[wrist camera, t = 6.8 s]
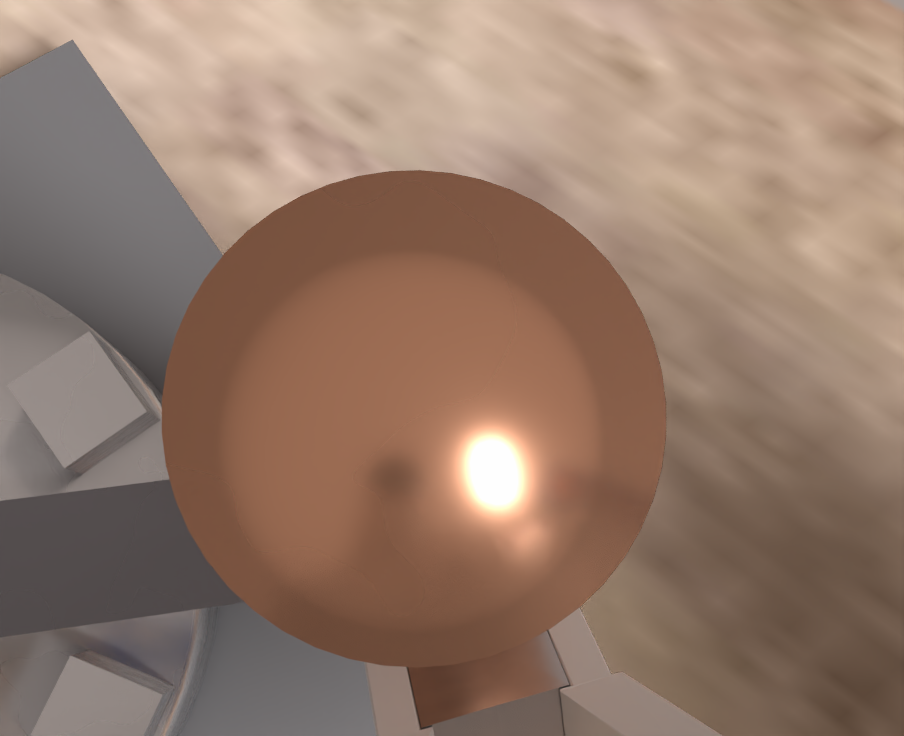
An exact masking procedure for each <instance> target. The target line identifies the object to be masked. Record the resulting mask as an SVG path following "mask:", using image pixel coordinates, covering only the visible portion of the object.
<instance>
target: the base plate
mask: <svg viewBox="0 0 904 736" xmlns="http://www.w3.org/2000/svg"><path fill="white" fill-rule="evenodd" d="M222 256H223V255H222V253H221V252H220V251H219V249H218V248H217V246H216V245H215V243H214V242H213V241H212V239H211V238H210V236H209V235H208V233H207V232H206V231H205V229H204V228H203V226H202V225H201V223H200V222H199V221H198V219H197V218H196V216H195V215H194V213H193V212H192V210H191V209H190V208H189V206H188V205H187V203H186V202H185V200H184V199H183V198H182V196H181V195H180V193H179V192H178V190H177V189H176V188H175V186H174V185H173V183H172V182H171V180H170V179H169V177H168V176H167V175H166V173H165V172H164V170H163V169H162V167H161V166H160V165H159V163H158V162H157V160H156V159H155V157H154V156H153V155H152V153H151V152H150V150H149V149H148V147H147V146H146V144H145V143H144V142H143V140H142V139H141V137H140V136H139V134H138V133H137V132H136V130H135V129H134V127H133V126H132V124H131V123H130V122H129V120H128V119H127V117H126V116H125V114H124V113H123V111H122V110H121V109H120V107H119V106H118V104H117V103H116V101H115V100H114V99H113V97H112V96H111V94H110V93H109V91H108V90H107V89H106V87H105V86H104V84H103V83H102V81H101V80H100V79H99V77H98V76H97V74H96V73H95V71H94V70H93V68H92V67H91V66H90V64H89V63H88V61H87V60H86V58H85V57H84V56H83V54H82V53H81V51H80V50H79V48H78V47H77V46H76V44H75V43H74V41H73V40H71V41H69V42H67V43H65V44H63V45H62V46H60V47H58V48H56V49H54V50H52V51H50V52H48V53H46V54H45V55H43V56H41V57H39V58H37V59H35V60H33V61H31V62H29V63H28V64H26V65H24V66H22V67H20V68H18V69H16V70H14V71H13V72H11V73H9V74H7V75H5V76H3V77H1V78H0V273H1V274H4V275H6V276H8V277H10V278H12V279H14V280H16V281H18V282H20V283H22V284H24V285H27V286H29V287H31V288H33V289H35V290H37V291H39V292H41V293H43V294H44V295H46V296H47V297H49V298H50V299H52V300H53V301H55V302H56V303H58V304H59V305H61V306H62V307H63V308H65V309H66V310H68V311H69V312H71V313H72V314H74V315H75V316H77V317H78V318H80V319H81V320H82V321H83V322H85V323H86V324H87V325H88V326H89V327H91V328H92V329H93V330H94V331H96V332H97V333H98V334H99V335H101V336H102V337H103V338H104V339H106V340H107V341H108V342H109V343H111V344H112V345H113V346H114V347H116V348H117V349H118V350H119V351H120V352H121V353H122V354H123V355H125V356H126V357H127V358H128V359H129V360H130V361H131V362H132V363H133V364H134V365H136V366H137V367H138V368H139V369H140V370H141V371H142V372H143V373H144V374H145V375H146V376H147V377H148V378H149V380H150V381H151V382H152V383H153V384H154V386H155V387H156V388H157V389H158V390H159V392H160V393H161V394H162V395H163V389H164V382H165V375H166V368H167V364H168V360H169V357H170V353H171V350H172V346H173V343H174V339H175V336H176V333H177V331H178V329H179V326H180V324H181V322H182V319H183V317H184V315H185V313H186V310H187V308H188V306H189V304H190V302H191V301H192V299H193V297H194V296H195V294H196V292H197V291H198V289H199V287H200V286H201V284H202V282H203V281H204V279H205V278H206V276H207V275H208V274H209V273H210V271H211V270H212V269H213V268H214V266H215V265H216V264H217V262H218V261H219V260H220V259H221V257H222ZM179 736H376V731H375V725H374V719H373V713H372V706H371V700H370V694H369V688H368V682H367V676H366V670H365V664H364V662H362V661H357V660H352V659H348V658H345V657H342V656H339V655H336V654H333V653H330V652H327V651H324V650H321V649H318V648H315V647H313V646H311V645H309V644H307V643H305V642H303V641H302V640H300V639H298V638H296V637H294V636H292V635H290V634H288V633H286V632H284V631H282V630H281V629H279V628H278V627H276V626H275V625H274V624H272V623H271V622H269V621H268V620H266V619H265V618H264V617H262V616H261V615H259V614H258V613H256V612H255V611H254V610H253V609H252V608H250V607H249V606H248V605H247V604H246V603H245V602H244V603H237V604H230V605H223V606H219V607H218V615H217V623H216V632H215V636H214V640H213V644H212V648H211V652H210V656H209V660H208V664H207V668H206V672H205V676H204V678H203V681H202V683H201V686H200V689H199V691H198V694H197V696H196V699H195V702H194V704H193V707H192V709H191V712H190V715H189V717H188V719H187V721H186V723H185V725H184V727H183V729H182V731H181V733H180V734H179Z"/></svg>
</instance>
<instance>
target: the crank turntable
mask: <svg viewBox="0 0 904 736" xmlns="http://www.w3.org/2000/svg"><path fill="white" fill-rule="evenodd" d="M665 440H666V399H665V392H664V384H663V377H662V371H661V367H660V363H659V360H658V356H657V352H656V348H655V344H654V341H653V339H652V336H651V334H650V331H649V329H648V326H647V324H646V321H645V319H644V317H643V314H642V312H641V310H640V308H639V307H638V305H637V303H636V301H635V300H634V298H633V296H632V294H631V292H630V291H629V289H628V287H627V286H626V284H625V283H624V281H623V280H622V279H621V277H620V276H619V275H618V273H617V272H616V271H615V269H614V268H613V267H612V265H611V264H610V263H609V261H608V260H607V259H606V258H605V257H604V256H603V255H602V254H601V253H600V252H599V251H598V250H597V249H596V247H595V246H594V245H593V244H592V243H591V242H590V241H589V240H588V239H587V238H586V237H584V236H583V235H582V234H581V233H580V232H578V231H577V230H576V229H575V228H574V227H572V226H571V225H570V224H569V223H568V222H566V221H565V220H564V219H562V218H561V217H559V216H558V215H556V214H555V213H553V212H551V211H550V210H548V209H547V208H545V207H544V206H542V205H540V204H539V203H537V202H535V201H533V200H531V199H529V198H527V197H525V196H523V195H521V194H519V193H516V192H514V191H512V190H510V189H507V188H504V187H501V186H499V185H496V184H493V183H490V182H487V181H484V180H481V179H476V178H471V177H467V176H462V175H457V174H453V173H444V172H432V171H421V170H418V171H389V172H382V173H376V174H369V175H362V176H357V177H354V178H350V179H347V180H343V181H339V182H336V183H332V184H329V185H326V186H324V187H322V188H319V189H317V190H314V191H312V192H310V193H307V194H305V195H302V196H300V197H298V198H297V199H295V200H293V201H291V202H290V203H288V204H286V205H284V206H283V207H281V208H279V209H277V210H276V211H274V212H272V213H271V214H270V215H268V216H267V217H266V218H264V219H263V220H262V221H260V222H259V223H258V224H256V225H255V226H254V227H252V228H251V229H250V230H248V231H247V232H246V233H245V234H244V235H243V236H242V237H241V238H240V239H239V240H238V241H237V242H236V243H235V244H234V245H233V246H232V247H231V248H230V249H229V250H228V251H227V252H226V253H225V254H224V255H223V256H222V257H221V259H220V260H219V261H218V262H217V264H216V265H215V266H214V268H213V269H212V270H211V271H210V273H209V274H208V275H207V276H206V278H205V279H204V281H203V282H202V284H201V286H200V287H199V289H198V291H197V292H196V294H195V296H194V297H193V299H192V301H191V302H190V304H189V306H188V308H187V310H186V313H185V315H184V317H183V319H182V322H181V324H180V326H179V329H178V331H177V333H176V336H175V339H174V343H173V346H172V350H171V353H170V357H169V360H168V364H167V368H166V375H165V382H164V389H163V395H162V394H161V393H160V392H159V390H158V389H157V388H156V387H155V386H154V384H153V383H152V382H151V381H150V380H149V378H148V377H147V376H146V375H145V374H144V373H143V372H142V371H141V370H140V369H139V368H138V367H137V366H136V365H134V364H133V363H132V362H131V361H130V360H129V359H128V358H127V357H126V356H125V355H123V354H122V353H121V352H120V351H119V350H118V349H117V348H116V347H114V346H113V345H112V344H111V343H109V342H108V341H107V340H106V339H104V338H103V337H102V336H101V335H99V334H98V333H97V332H96V331H94V330H93V329H92V328H91V327H89V326H88V325H87V324H86V323H85V322H83V321H82V320H81V319H80V318H78V317H77V316H75V315H74V314H72V313H71V312H69V311H68V310H66V309H65V308H63V307H62V306H61V305H59V304H58V303H56V302H55V301H53V300H52V299H50V298H49V297H47V296H46V295H44V294H43V293H41V292H39V291H37V290H35V289H33V288H31V287H29V286H27V285H24V284H22V283H20V282H18V281H16V280H14V279H12V278H10V277H8V276H6V275H4V274H1V273H0V736H179V734H180V733H181V731H182V729H183V727H184V725H185V723H186V721H187V719H188V717H189V715H190V712H191V709H192V707H193V704H194V702H195V699H196V696H197V694H198V691H199V689H200V686H201V683H202V681H203V678H204V676H205V672H206V668H207V664H208V660H209V656H210V652H211V648H212V644H213V640H214V636H215V632H216V623H217V615H218V607H219V606H223V605H230V604H237V603H244V602H245V603H246V604H247V605H248V606H249V607H250V608H252V609H253V610H254V611H255V612H256V613H258V614H259V615H261V616H262V617H264V618H265V619H266V620H268V621H269V622H271V623H272V624H274V625H275V626H276V627H278V628H279V629H281V630H282V631H284V632H286V633H288V634H290V635H292V636H294V637H296V638H298V639H300V640H302V641H303V642H305V643H307V644H309V645H311V646H313V647H315V648H318V649H321V650H324V651H327V652H330V653H333V654H336V655H339V656H342V657H345V658H348V659H352V660H357V661H362V662H367V663H372V664H378V665H383V666H399V667H418V668H420V667H432V666H443V665H455V664H459V663H463V662H468V661H472V660H477V659H481V658H486V657H489V656H492V655H495V654H497V653H500V652H503V651H505V650H508V649H511V648H513V647H516V646H519V645H521V644H523V643H525V642H527V641H529V640H530V639H532V638H534V637H536V636H538V635H540V634H541V633H543V632H545V631H547V630H549V629H551V628H552V627H554V626H555V625H556V624H558V623H559V622H560V621H562V620H563V619H565V618H566V617H567V616H569V615H570V614H571V613H573V612H574V611H575V610H577V609H578V608H579V607H580V606H581V605H583V604H584V603H585V602H586V601H587V600H588V599H589V598H590V597H591V596H592V595H593V594H594V593H595V592H596V591H597V590H598V589H599V588H600V587H601V586H602V585H603V584H604V583H605V582H606V580H607V579H608V578H609V576H610V575H611V574H612V573H613V571H614V570H615V569H616V568H617V566H618V565H619V564H620V562H621V561H622V560H623V559H624V557H625V555H626V554H627V552H628V550H629V549H630V547H631V545H632V543H633V542H634V540H635V538H636V537H637V535H638V533H639V531H640V530H641V528H642V525H643V523H644V521H645V518H646V516H647V513H648V511H649V509H650V506H651V504H652V501H653V499H654V495H655V492H656V488H657V484H658V480H659V477H660V473H661V469H662V463H663V456H664V448H665Z"/></svg>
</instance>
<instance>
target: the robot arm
mask: <svg viewBox="0 0 904 736" xmlns="http://www.w3.org/2000/svg"><path fill="white" fill-rule="evenodd" d="M364 664H365V670H366V676H367V682H368V688H369V694H370V700H371V706H372V713H373V719H374V725H375V731H376V736H723V735H721V734H719V733H718V732H716V731H715V730H713V729H712V728H710V727H709V726H707V725H705V724H704V723H702V722H701V721H699V720H698V719H696V718H694V717H693V716H691V715H690V714H688V713H687V712H685V711H683V710H682V709H680V708H679V707H677V706H676V705H674V704H672V703H671V702H669V701H668V700H666V699H665V698H663V697H661V696H660V695H658V694H657V693H655V692H654V691H652V690H650V689H649V688H647V687H646V686H644V685H643V684H641V683H639V682H638V681H636V680H635V679H633V678H632V677H630V676H629V675H627V674H625V673H624V672H618V673H614V674H611V672H610V670H609V668H608V665H607V663H606V661H605V659H604V657H603V655H602V653H601V651H600V649H599V647H598V644H597V642H596V640H595V638H594V636H593V634H592V632H591V630H590V628H589V626H588V623H587V621H586V619H585V617H584V615H583V613H582V611H581V609H580V607H579V608H578V609H577V610H575V611H574V612H573V613H571V614H570V615H569V616H567V617H566V618H565V619H563V620H562V621H560V622H559V623H558V624H556V625H555V626H554V627H552V628H551V629H549V630H547V631H545V632H543V633H541V634H540V635H538V636H536V637H534V638H532V639H530V640H529V641H527V642H525V643H523V644H521V645H519V646H516V647H513V648H511V649H508V650H505V651H503V652H500V653H497V654H495V655H492V656H489V657H486V658H481V659H477V660H472V661H468V662H463V663H459V664H455V665H443V666H432V667H420V668H418V667H399V666H383V665H378V664H372V663H367V662H364Z"/></svg>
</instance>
